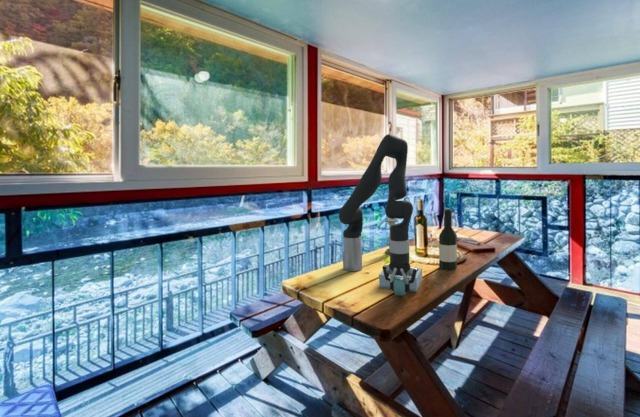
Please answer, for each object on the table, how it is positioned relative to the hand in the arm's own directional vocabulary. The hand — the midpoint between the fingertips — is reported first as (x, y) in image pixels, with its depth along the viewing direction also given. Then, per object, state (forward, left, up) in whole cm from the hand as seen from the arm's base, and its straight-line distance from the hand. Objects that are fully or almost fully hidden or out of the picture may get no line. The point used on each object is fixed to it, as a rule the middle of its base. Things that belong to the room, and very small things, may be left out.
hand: (399, 291), depth 137 cm
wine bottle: (+14, +44, -3) cm, 46 cm away
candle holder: (-19, +64, -3) cm, 67 cm away
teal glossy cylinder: (0, 0, -1) cm, 1 cm away
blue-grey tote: (-3, +14, -2) cm, 15 cm away
